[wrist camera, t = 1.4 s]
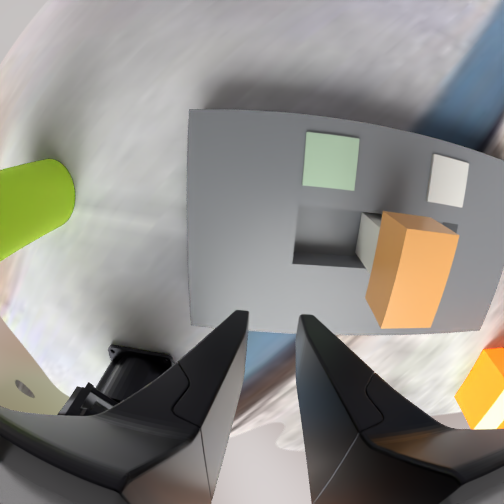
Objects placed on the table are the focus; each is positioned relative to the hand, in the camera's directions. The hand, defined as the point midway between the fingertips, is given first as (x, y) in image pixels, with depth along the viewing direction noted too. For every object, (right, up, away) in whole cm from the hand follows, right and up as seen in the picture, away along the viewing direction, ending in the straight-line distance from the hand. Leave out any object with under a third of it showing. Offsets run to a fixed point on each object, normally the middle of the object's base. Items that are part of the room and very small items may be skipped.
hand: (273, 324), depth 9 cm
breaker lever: (+8, +3, +10) cm, 13 cm away
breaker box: (+8, +4, +11) cm, 14 cm away
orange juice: (+29, -12, +16) cm, 35 cm away
